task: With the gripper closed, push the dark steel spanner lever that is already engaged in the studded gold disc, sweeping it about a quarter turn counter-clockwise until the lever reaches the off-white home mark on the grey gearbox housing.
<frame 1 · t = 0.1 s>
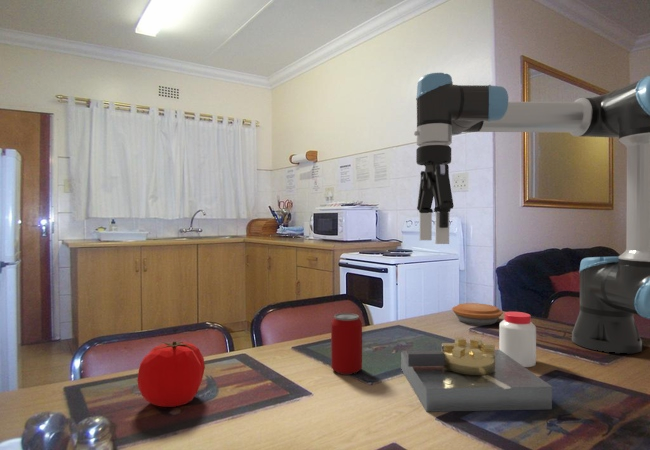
hand: (433, 242, 93), 28 cm above the table, fingers open, 13 cm apart
pie: (477, 321, 135), on the table
tomato: (173, 402, 76), on the table
housing: (467, 387, 82), on the table
pill bottle: (517, 362, 97), on the table
beverage can: (346, 371, 91), on the table
studded gold disc: (450, 354, 82), point 6 cm above the table, hinge at 0.0°
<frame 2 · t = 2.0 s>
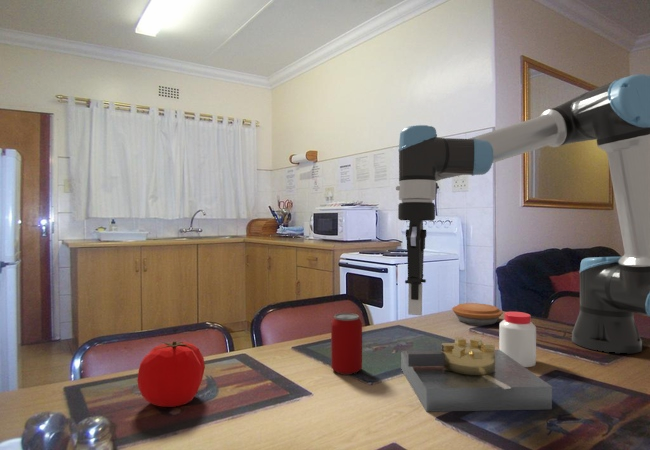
hand: (415, 314, 87), 13 cm above the table, fingers closed
nothing on the table moved.
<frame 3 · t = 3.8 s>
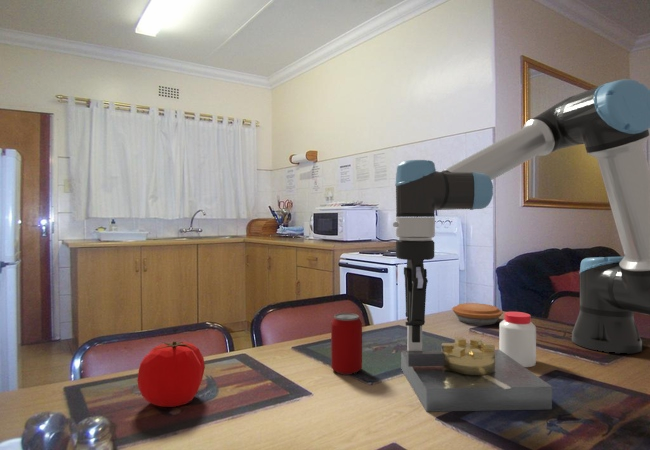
hand: (414, 356, 83), 6 cm above the table, fingers closed
studded gold disc: (450, 354, 82), point 6 cm above the table, hinge at 0.0°, touching gripper
everything else where it was.
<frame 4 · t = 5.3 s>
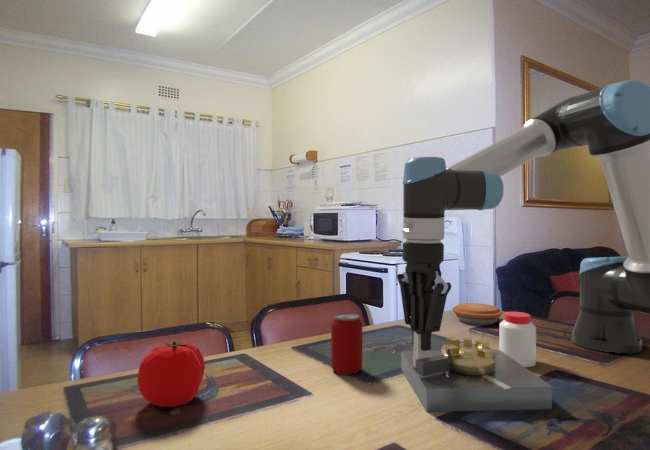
hand: (421, 365, 79), 5 cm above the table, fingers closed
studded gold disc: (454, 357, 80), point 6 cm above the table, hinge at 24.7°, touching gripper
everything else where it was.
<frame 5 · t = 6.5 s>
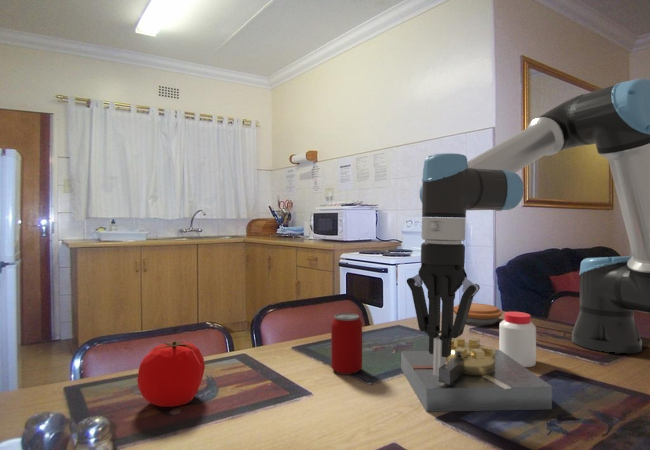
hand: (439, 373, 75), 5 cm above the table, fingers closed
studded gold disc: (461, 359, 79), point 6 cm above the table, hinge at 50.3°, touching gripper
everything else where it was.
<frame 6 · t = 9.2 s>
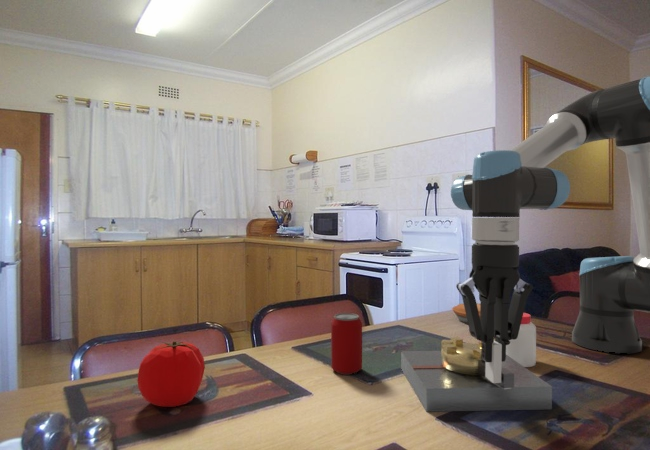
hand: (493, 379, 72), 5 cm above the table, fingers closed
studded gold disc: (478, 360, 78), point 6 cm above the table, hinge at 102.3°, touching gripper
everything else where it was.
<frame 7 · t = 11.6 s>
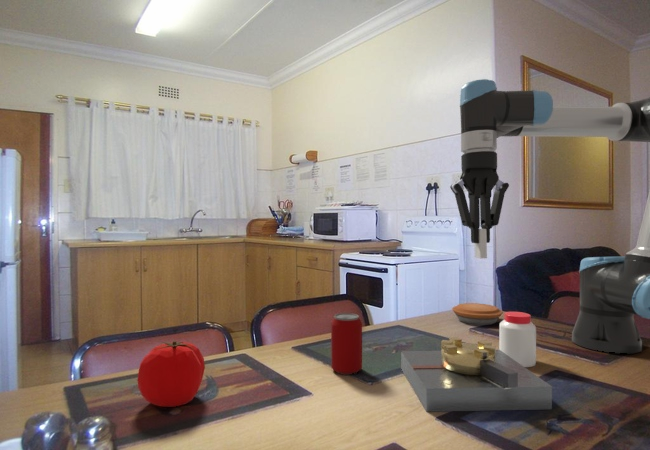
hand: (480, 257, 93), 24 cm above the table, fingers closed
studded gold disc: (479, 360, 78), point 6 cm above the table, hinge at 106.1°
everything else where it was.
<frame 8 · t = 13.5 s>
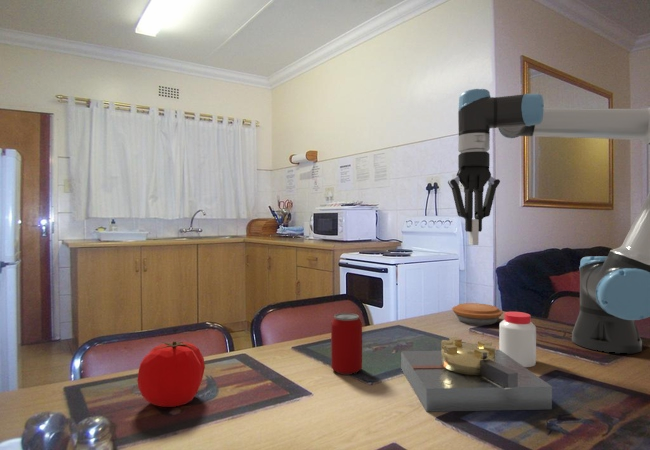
hand: (473, 244, 107), 26 cm above the table, fingers closed
nothing on the table moved.
at the end: studded gold disc at +106° (first picture: +0°); studded gold disc touching nothing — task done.
